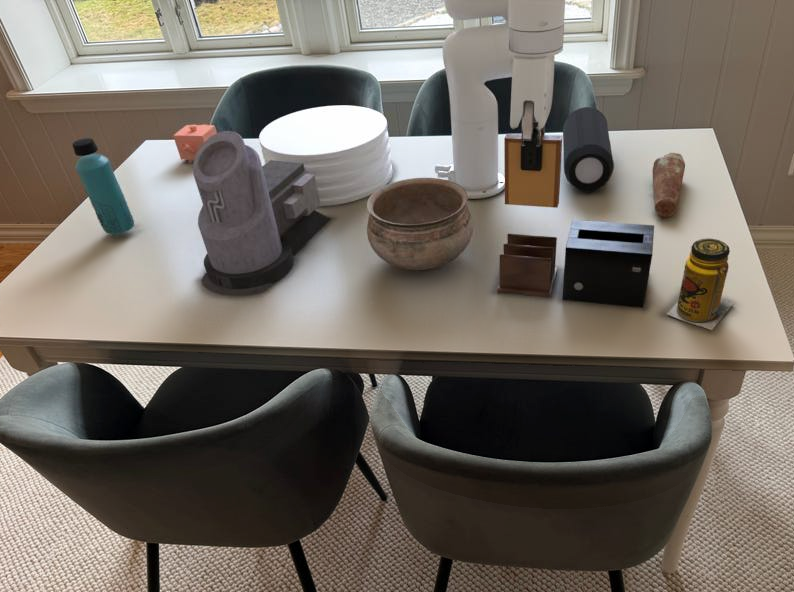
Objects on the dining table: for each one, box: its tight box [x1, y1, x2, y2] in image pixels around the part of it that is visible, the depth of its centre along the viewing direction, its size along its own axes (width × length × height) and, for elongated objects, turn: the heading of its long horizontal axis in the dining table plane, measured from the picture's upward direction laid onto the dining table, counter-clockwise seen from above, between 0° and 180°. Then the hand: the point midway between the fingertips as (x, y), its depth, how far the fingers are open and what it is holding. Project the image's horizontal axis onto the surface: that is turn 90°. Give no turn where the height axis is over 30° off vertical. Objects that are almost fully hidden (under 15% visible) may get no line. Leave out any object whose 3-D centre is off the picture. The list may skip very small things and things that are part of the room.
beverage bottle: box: [71, 137, 135, 235], centre depth 133 cm, size 6×7×20 cm
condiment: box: [666, 238, 734, 331], centre depth 102 cm, size 7×8×12 cm
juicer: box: [192, 130, 331, 297], centre depth 122 cm, size 30×16×24 cm, turn 158°
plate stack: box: [258, 104, 394, 207], centre depth 150 cm, size 28×28×12 cm
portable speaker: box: [562, 106, 615, 193], centre depth 144 cm, size 26×10×10 cm, turn 172°
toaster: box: [561, 219, 655, 309], centre depth 109 cm, size 13×10×10 cm
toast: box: [503, 133, 563, 209], centre depth 104 cm, size 8×2×11 cm, turn 74°
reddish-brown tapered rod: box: [652, 152, 686, 218], centre depth 133 cm, size 6×19×6 cm, turn 161°
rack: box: [496, 233, 558, 298], centre depth 113 cm, size 9×8×7 cm
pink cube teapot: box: [172, 124, 218, 163], centre depth 165 cm, size 8×12×8 cm, turn 168°
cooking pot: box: [366, 177, 474, 271], centre depth 119 cm, size 25×19×12 cm
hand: (532, 165), depth 103 cm, fingers closed on toast, 1 cm apart
